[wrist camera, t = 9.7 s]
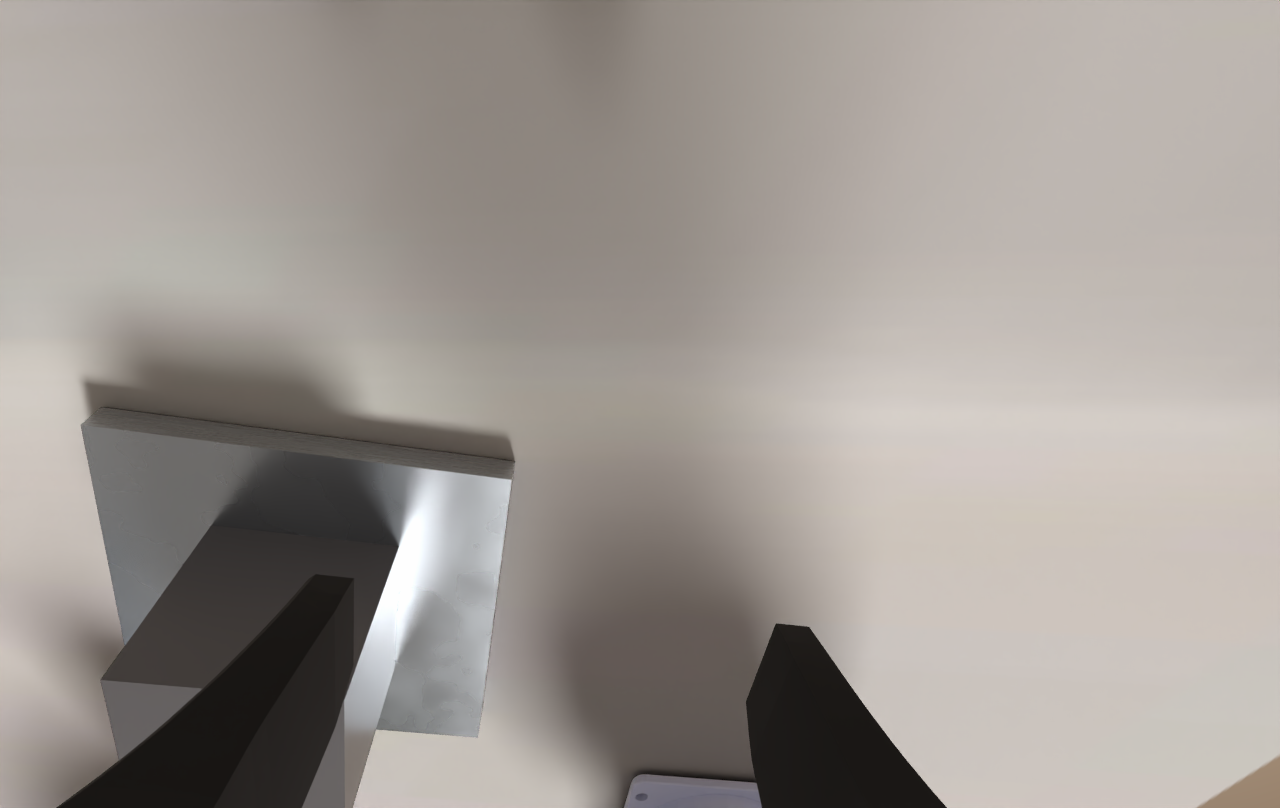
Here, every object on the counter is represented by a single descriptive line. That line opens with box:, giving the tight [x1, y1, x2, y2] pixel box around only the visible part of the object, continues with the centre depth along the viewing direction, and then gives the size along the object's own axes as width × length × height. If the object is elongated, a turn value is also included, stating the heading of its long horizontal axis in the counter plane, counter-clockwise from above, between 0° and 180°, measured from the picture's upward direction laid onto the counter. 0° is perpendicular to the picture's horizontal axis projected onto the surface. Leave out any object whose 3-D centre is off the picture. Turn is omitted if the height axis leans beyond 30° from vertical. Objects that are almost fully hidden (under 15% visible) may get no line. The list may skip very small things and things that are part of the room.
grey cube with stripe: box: [101, 525, 399, 808], centre depth 22 cm, size 6×6×6 cm
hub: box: [81, 407, 515, 738], centre depth 23 cm, size 12×12×5 cm
